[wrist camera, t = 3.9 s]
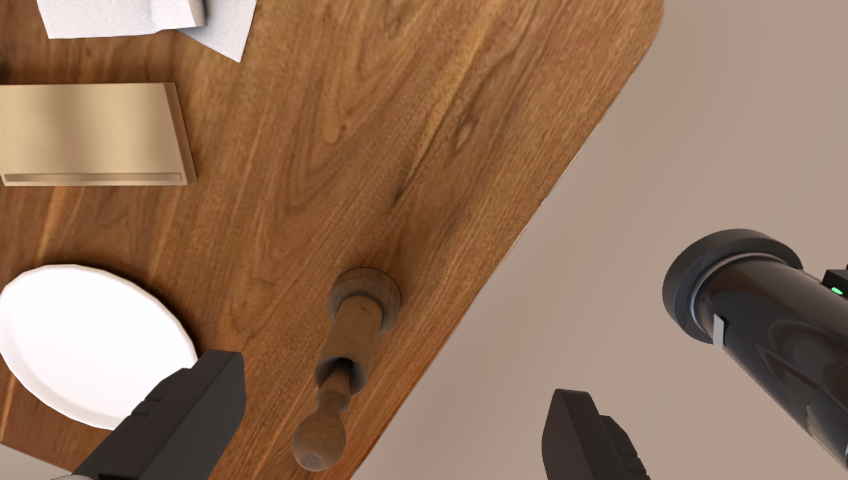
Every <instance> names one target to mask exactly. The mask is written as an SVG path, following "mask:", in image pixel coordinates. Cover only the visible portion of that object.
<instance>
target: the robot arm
mask: <svg viewBox="0 0 848 480" xmlns="http://www.w3.org/2000/svg"><path fill="white" fill-rule="evenodd" d="M687 307H688V312H689V315H690V317H691V319H692V320H693V322H694V323H695V324H696V325H697V326H698V327H699V328H700V329H701V330H702V331H703V332H705V333H706V334H708V335H709V336H710V337H711V338H712V339H713V343H714V344H715V345H716V346H717V347H718V348H719V349H720V350H721V351H722V349H723V350H724V351H725V352H726V353H727V354H728V355H729V356H730V357H731V358H732V359H733V360H734V361H735V362H736V363H737V364H738V365H739V366H740V367H741V368H742V369H743V370H744V371H745V372H746V373H747V374H748V375H749V376H750V377H751V378H752V379H753V380H754V381H755V382H756V383H757V384H758V385H759V386H760V387H761V388H762V389H763V390H764V391H765V392H766V393H767V394H768V395H769V396H770V397H771V398H772V399H774V401H775V402H777V403H778V405H780V406H781V407H782V408H783V409H784V410H785V411H786V412H787V413H788V414H789V415H790V416H791V417H792V418H793V419H794V420H795V421H796V422H797V423H798V424H799V425H800V426H801V427H802V428H803V429H804V430H805V431H806V432H807V433H808V434H809V435H810V436H811V437H812V438H813V439H814V440H815V441H817V442H818V444H819V445H820V446H821V447H823V449H824V450H826V451H827V452H828V453H829V454H830V455H831V456H832V457H833V458H834V459H835V460H836V461H837V462H838V463H839V464H840V465H841V466H842V467H843V468H844V469H845V470H846V471H847V472H848V265H847V266H846V270H827V271H826V273H825V275H824V278H823V280H822V281H821V280H819V279H818V278H816V277H814V276H812V275H810V274H809V273H807V272H805V271H803V270H801V269H799V268H798V267H796V266H790V265H788V264H787V263H786V262H784V261H783V260H781V259H779V258H778V257H776V256H774V255H772V254H769V253H766V252H762V251H741V252H737V253H733V254H730V255H727V256H725V257H723V258H721V259H719V260H717V261H715V262H714V263H712V264H711V265H709V266H708V267H707V268H706V269H705V270H704V271H703V272H702V273H701V274H700V275H699V276H698V277H697V278H696V280H695V281H694V283H693V285H692V287H691V289H690V292H689V295H688V301H687ZM245 407H246V390H245V377H244V364H243V356H242V354H241V353H239V352H231V351H222V350H213V349H209V350H207V351H206V352H205V353H204V354H203V355H202V356H201V357H200V358H199V360H198V361H197V362H196V363H195V364H194V365H193V366H192V367H191V368H181V369H179V370H178V371H176V372H174V373H173V374H171V375H169V376H168V377H166V378H165V379H163V380H161V381H160V382H159V383H158V384H157V385H156V386H155V387H154V388H153V389H152V391H151V392H150V393H149V394H148V395H147V396H146V397H145V399H144V401H141V402H140V403H139V404H138V405H137V406H136V407H135V408H134V409H133V410H132V411H131V415H130V416H129V415H128V416H127V417H126V418H125V419H124V420H123V421H122V422H121V423H120V424H119V425H118V426H117V427H116V428H115V429H114V430H113V431H112V432H111V433H110V435H109V436H108V437H107V438H106V439H105V440H104V441H103V442H102V443H101V444H100V445H99V446H98V447H97V448H96V449H95V450H94V451H93V452H92V453H91V454H90V455H89V457H88V458H87V459H86V460H85V461H84V462H83V463H82V464H81V465H80V466H79V467H78V468H77V469H76V470H75V471H74V472H73V473H72V474H71V475H67V476H61V477H57V478H54V479H51V480H207V479H208V477H209V476H210V474H211V472H212V471H213V469H214V467H215V466H216V464H217V462H218V461H219V459H220V457H221V456H222V454H223V452H224V451H225V449H226V447H227V446H228V444H229V442H230V441H231V439H232V437H233V436H234V434H235V432H236V431H237V429H238V427H239V425H240V423H241V421H242V419H243V416H244V412H245ZM542 457H543V462H544V466H545V470H546V474H547V478H548V480H651V479H650V477H649V476H648V475H646V469H645V468H644V466H643V464H642V462H641V460H640V458H638V457H637V452H636V450H635V448H634V446H633V445H632V443H631V441H630V439H629V437H628V435H627V434H626V432H625V431H624V430H623V429H622V428H621V427H620V426H619V425H618V424H617V423H616V422H615V421H614V420H613V419H612V418H611V417H610V416H603V415H599V413H598V411H597V408H596V406H595V404H594V402H593V400H592V398H591V396H590V394H589V393H588V392H582V391H574V390H565V389H556V390H555V392H554V394H553V397H552V401H551V404H550V409H549V412H548V416H547V420H546V423H545V427H544V431H543V435H542Z"/></svg>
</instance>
